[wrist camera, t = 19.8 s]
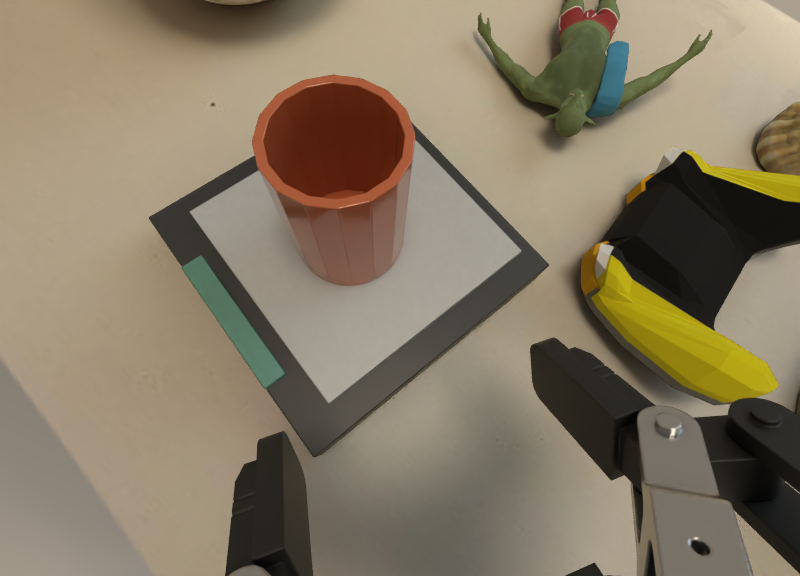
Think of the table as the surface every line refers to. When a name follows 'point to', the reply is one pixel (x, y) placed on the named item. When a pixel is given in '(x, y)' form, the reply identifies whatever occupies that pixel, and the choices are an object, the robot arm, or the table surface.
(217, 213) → the scale
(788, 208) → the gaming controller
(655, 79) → the figurine
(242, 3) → the planter
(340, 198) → the cup
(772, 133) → the seashell
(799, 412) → the can
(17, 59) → the table surface
